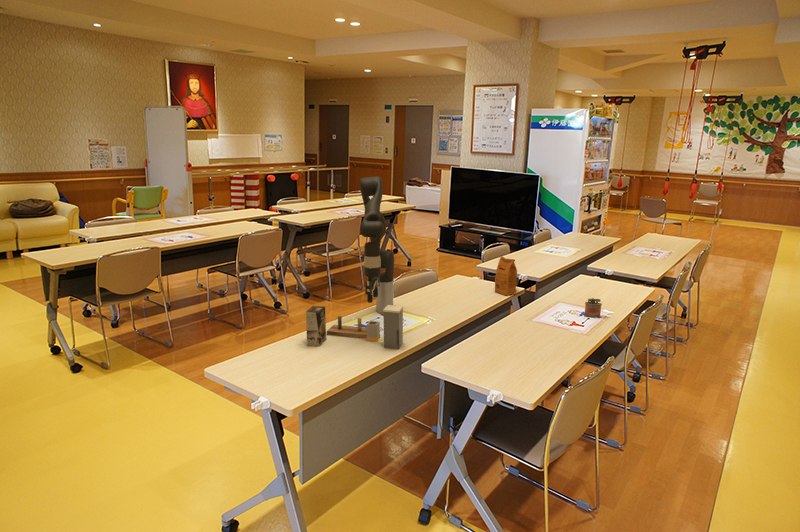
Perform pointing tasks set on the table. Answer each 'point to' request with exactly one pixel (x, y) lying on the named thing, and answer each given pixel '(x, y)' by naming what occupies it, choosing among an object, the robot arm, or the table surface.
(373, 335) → the sleeve
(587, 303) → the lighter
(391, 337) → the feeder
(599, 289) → the table surface
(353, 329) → the pin block
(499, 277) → the coffee package
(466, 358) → the table surface
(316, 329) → the coffee box
